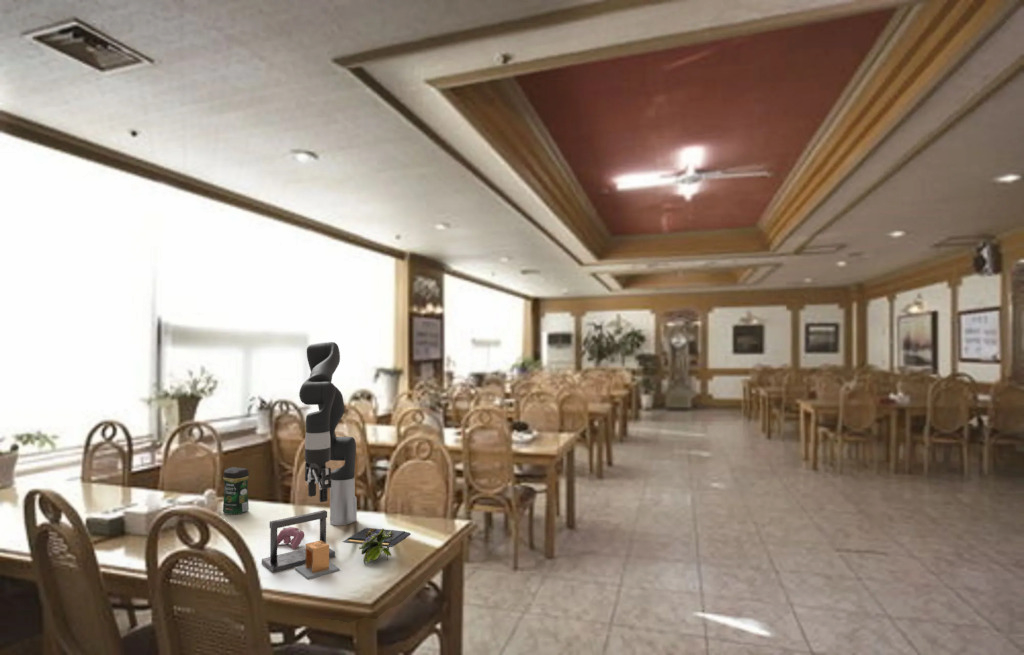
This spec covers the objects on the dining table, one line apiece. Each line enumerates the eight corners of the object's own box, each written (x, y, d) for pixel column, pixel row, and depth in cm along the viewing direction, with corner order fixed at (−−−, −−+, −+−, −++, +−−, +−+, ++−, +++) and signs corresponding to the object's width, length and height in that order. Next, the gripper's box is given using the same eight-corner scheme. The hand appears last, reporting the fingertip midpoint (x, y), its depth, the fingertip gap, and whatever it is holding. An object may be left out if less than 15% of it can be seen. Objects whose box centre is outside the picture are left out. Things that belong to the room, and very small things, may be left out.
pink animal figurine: (301, 551, 197) (308, 529, 200) (293, 548, 193) (300, 527, 196) (279, 547, 200) (286, 526, 203) (271, 545, 197) (278, 524, 200)
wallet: (412, 530, 209) (391, 544, 195) (412, 535, 209) (391, 549, 195) (364, 525, 215) (340, 538, 201) (364, 530, 215) (340, 543, 201)
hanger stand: (261, 563, 181) (262, 519, 182) (322, 548, 194) (322, 507, 195) (272, 572, 174) (273, 526, 174) (335, 556, 187) (335, 513, 187)
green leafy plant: (370, 572, 187) (378, 535, 195) (397, 571, 183) (404, 533, 190) (349, 562, 179) (358, 524, 187) (377, 560, 175) (385, 521, 183)
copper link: (305, 567, 176) (305, 543, 176) (321, 563, 179) (321, 540, 180) (313, 573, 172) (313, 549, 172) (329, 568, 175) (329, 545, 175)
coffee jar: (219, 513, 236) (219, 468, 236) (234, 508, 243) (234, 465, 244) (237, 516, 232) (237, 470, 233) (252, 510, 240) (252, 466, 240)
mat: (325, 561, 183) (326, 559, 183) (339, 570, 175) (339, 568, 175) (294, 569, 176) (294, 567, 176) (307, 579, 169) (307, 577, 169)
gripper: (339, 447, 174) (339, 501, 174) (319, 441, 185) (319, 492, 184) (315, 451, 169) (315, 506, 169) (296, 444, 180) (296, 496, 179)
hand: (317, 498), depth 176 cm, fingers open, 8 cm apart
